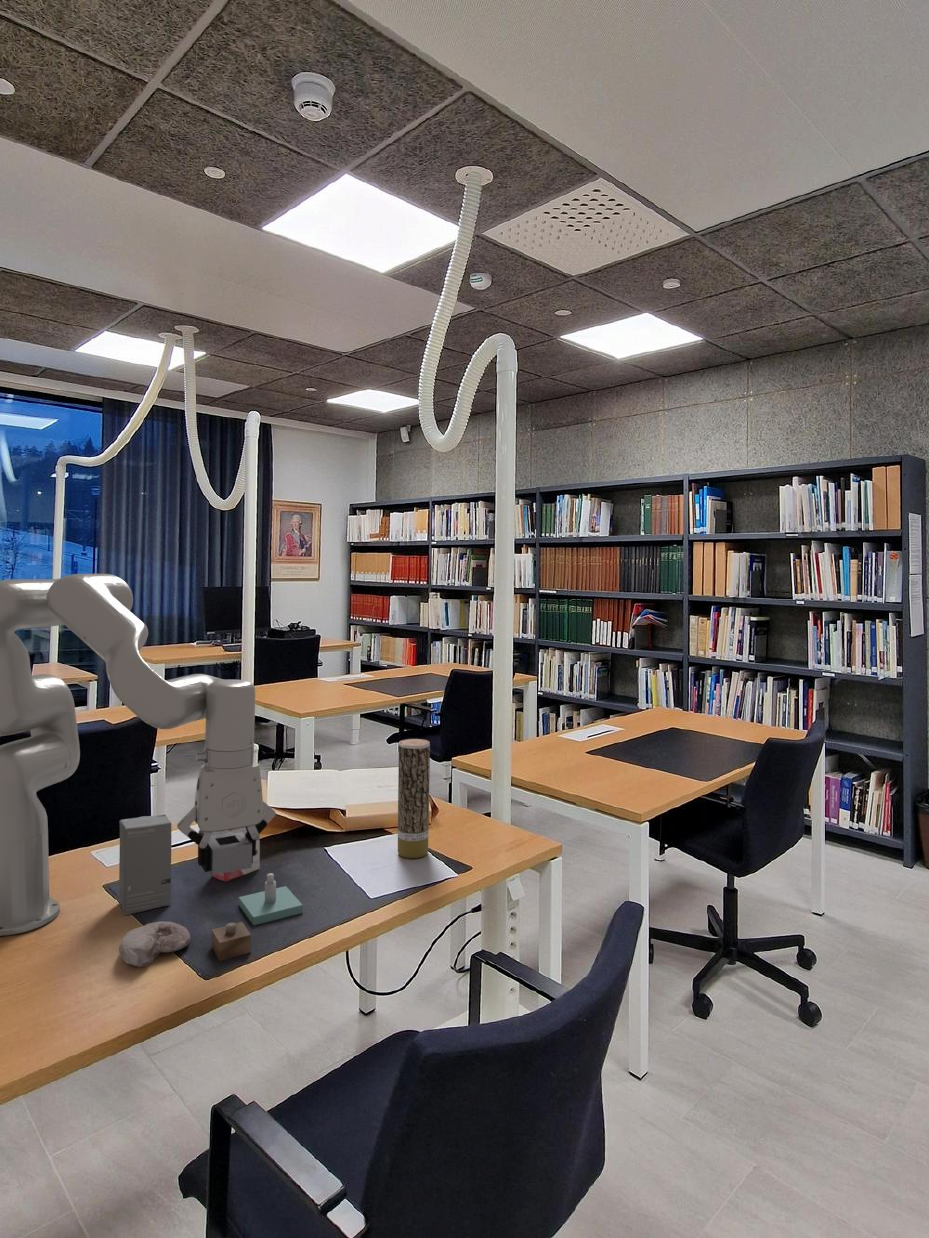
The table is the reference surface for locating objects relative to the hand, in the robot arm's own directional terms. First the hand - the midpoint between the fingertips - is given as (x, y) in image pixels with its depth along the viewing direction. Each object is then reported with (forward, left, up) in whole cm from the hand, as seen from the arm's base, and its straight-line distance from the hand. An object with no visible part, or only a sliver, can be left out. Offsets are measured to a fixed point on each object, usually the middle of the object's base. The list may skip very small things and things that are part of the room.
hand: (227, 863), depth 118 cm
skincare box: (-9, +24, -15) cm, 29 cm away
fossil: (-11, +6, -15) cm, 19 cm away
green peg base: (+10, +10, -14) cm, 21 cm away
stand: (0, 0, -14) cm, 15 cm away
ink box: (+9, +29, -15) cm, 34 cm away
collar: (0, 0, 0) cm, 0 cm away
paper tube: (+45, +19, -15) cm, 51 cm away
